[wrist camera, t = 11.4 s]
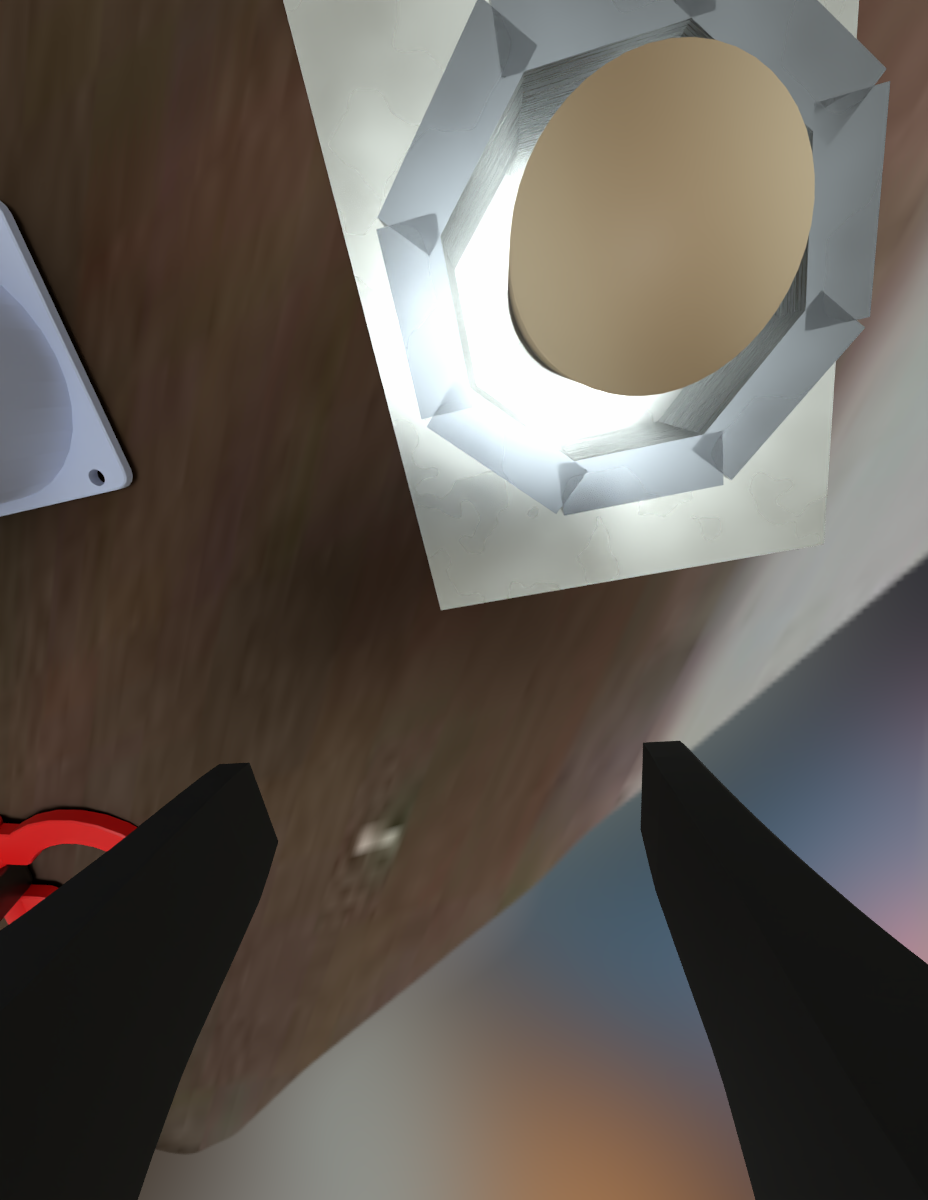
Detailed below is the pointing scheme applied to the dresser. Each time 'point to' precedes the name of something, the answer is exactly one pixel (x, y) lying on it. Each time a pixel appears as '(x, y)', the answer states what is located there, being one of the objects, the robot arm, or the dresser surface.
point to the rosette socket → (480, 285)
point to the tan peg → (660, 218)
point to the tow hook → (9, 848)
